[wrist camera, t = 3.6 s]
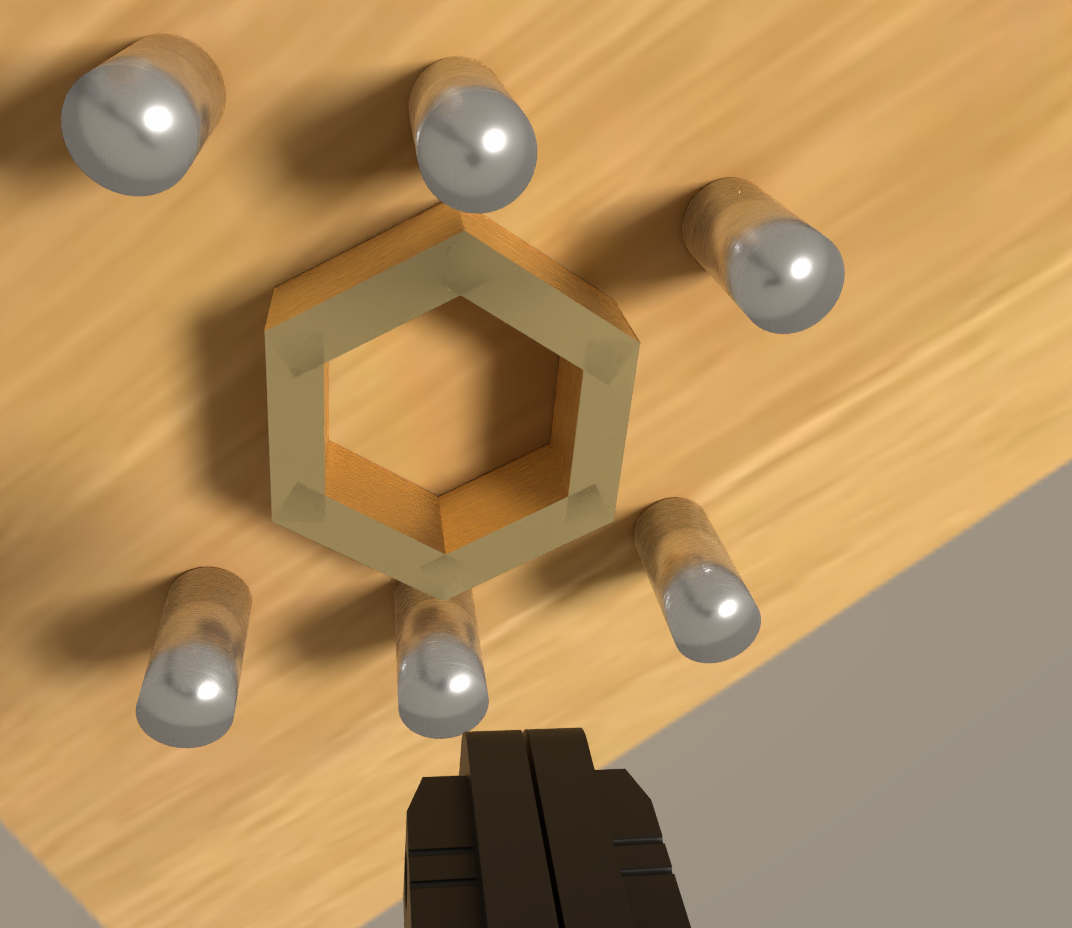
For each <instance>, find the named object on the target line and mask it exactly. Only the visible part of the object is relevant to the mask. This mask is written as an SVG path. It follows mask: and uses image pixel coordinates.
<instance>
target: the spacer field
mask: <svg viewBox="0 0 1072 928" xmlns="http://www.w3.org/2000/svg"><path fill="white" fill-rule="evenodd" d="M225 100H226V93H225V86H224V82H223V79H222V76H221V73H220V71H219V69H218V67H217V66H216V64H215V63H214V61H213V60H212V59H211V57H210V56H209V55H208V54H207V53H206V52H205V51H204V50H203V49H202V48H200V47H199V46H198V45H196V44H195V43H193V42H191V41H189V40H187V39H185V38H182V37H179V36H176V35H170V34H156V35H150V36H147V37H144V38H142V39H140V40H138V41H137V42H135V43H133V44H132V45H130V46H129V47H127V48H125V49H124V50H122V51H121V52H119V53H118V54H116V55H114V56H113V57H111V58H110V59H108V60H107V61H105V62H103V63H102V64H100V65H99V66H97V67H96V68H94V69H92V70H91V71H89V72H88V73H86V74H85V75H83V76H82V77H81V78H79V79H78V80H77V81H76V82H75V83H74V85H73V86H72V87H71V88H70V90H69V92H68V93H67V95H66V98H65V100H64V103H63V107H62V112H61V129H62V134H63V138H64V141H65V144H66V147H67V149H68V151H69V153H70V155H71V157H72V158H73V160H74V161H75V163H76V164H77V165H78V166H79V168H80V169H81V170H82V171H83V172H84V173H85V174H86V175H87V176H88V177H89V178H91V179H92V180H93V181H95V182H96V183H98V184H99V185H101V186H102V187H104V188H107V189H109V190H111V191H114V192H116V193H120V194H124V195H129V196H148V195H154V194H157V193H160V192H163V191H165V190H167V189H169V188H170V187H172V186H174V185H175V184H176V183H177V182H178V181H180V180H181V178H182V177H183V176H184V175H185V174H186V172H187V170H188V169H189V167H190V166H191V164H192V163H193V161H194V160H195V158H196V157H197V155H198V154H199V152H200V150H201V149H202V147H203V146H204V144H205V143H206V141H207V140H208V138H209V137H210V135H211V133H212V132H213V130H214V129H215V127H216V126H217V124H218V123H219V121H220V119H221V117H222V115H223V111H224V108H225ZM408 109H409V119H410V124H411V129H412V134H413V139H414V144H415V149H416V154H417V160H418V165H419V169H420V172H421V175H422V177H423V179H424V181H425V183H426V185H427V186H428V188H429V189H430V191H431V192H432V193H433V194H434V195H435V196H436V197H437V198H438V199H439V200H440V201H442V202H443V203H444V204H446V205H448V206H449V207H451V208H453V209H456V210H458V211H462V212H466V213H474V214H475V213H488V212H492V211H496V210H498V209H501V208H503V207H505V206H507V205H508V204H510V203H511V202H513V201H514V200H515V199H516V198H517V197H518V196H519V195H520V194H521V193H522V192H523V191H524V190H525V188H526V187H527V185H528V184H529V182H530V180H531V178H532V176H533V173H534V170H535V166H536V161H537V142H536V138H535V133H534V131H533V128H532V126H531V124H530V122H529V120H528V118H527V117H526V116H525V114H524V113H523V111H522V110H521V109H520V107H519V106H518V104H517V103H516V102H515V100H514V99H513V98H512V96H511V95H510V93H509V92H508V91H507V89H506V88H505V87H504V85H503V84H502V83H501V81H500V80H499V78H498V77H497V76H496V75H495V73H494V72H493V71H492V70H491V69H489V68H488V67H487V66H486V65H484V64H482V63H481V62H479V61H476V60H474V59H470V58H466V57H450V58H445V59H442V60H439V61H437V62H435V63H433V64H432V65H430V66H429V67H428V68H426V69H425V70H424V71H423V72H422V73H421V74H420V76H419V77H418V79H417V80H416V82H415V84H414V86H413V88H412V91H411V93H410V98H409V106H408ZM682 233H683V239H684V242H685V245H686V247H687V249H688V250H689V252H690V253H691V255H692V256H693V257H694V258H695V259H696V260H697V261H698V262H699V263H700V264H701V266H702V267H703V268H704V269H705V270H706V271H707V272H708V273H709V274H710V275H711V277H712V278H713V279H714V280H715V281H716V282H717V283H718V284H719V285H720V286H721V288H722V289H723V290H724V291H725V292H726V293H727V294H728V295H729V296H730V297H731V299H732V300H733V301H734V302H735V303H736V304H737V305H738V306H739V307H740V308H741V310H742V311H743V312H744V313H745V314H746V315H747V316H748V317H749V318H750V319H751V321H752V322H753V323H754V324H756V325H757V326H758V327H760V328H762V329H763V330H766V331H768V332H772V333H777V334H790V333H795V332H799V331H802V330H805V329H807V328H809V327H811V326H813V325H814V324H816V323H817V322H819V321H820V320H821V319H822V318H824V317H825V316H826V315H827V314H828V313H829V311H830V310H831V309H832V308H833V306H834V305H835V303H836V301H837V300H838V298H839V296H840V293H841V291H842V287H843V283H844V273H845V272H844V263H843V259H842V257H841V254H840V252H839V250H838V249H837V247H836V246H835V245H834V244H833V243H832V242H831V241H830V240H829V239H828V238H826V237H825V236H824V235H822V234H821V233H820V232H818V231H817V230H816V229H814V228H813V227H812V226H810V225H809V224H808V223H806V222H805V221H804V220H802V219H801V218H800V217H798V216H797V215H795V214H794V213H793V212H791V211H790V210H789V209H787V208H786V207H785V206H783V205H782V204H781V203H779V202H778V201H777V200H775V199H774V198H773V197H771V196H770V195H768V194H767V193H766V192H764V191H763V190H762V189H760V188H759V187H758V186H756V185H755V184H753V183H752V182H750V181H748V180H745V179H741V178H723V179H720V180H716V181H714V182H712V183H710V184H708V185H706V186H705V187H704V188H702V189H701V190H700V191H699V192H698V193H697V194H696V195H695V196H694V197H693V199H692V200H691V202H690V203H689V205H688V207H687V209H686V212H685V214H684V218H683V225H682ZM633 541H634V545H635V547H636V550H637V552H638V555H639V557H640V559H641V562H642V564H643V567H644V569H645V572H646V574H647V576H648V579H649V581H650V584H651V586H652V588H653V591H654V593H655V596H656V598H657V600H658V603H659V605H660V608H661V610H662V613H663V615H664V617H665V620H666V622H667V625H668V627H669V629H670V632H671V634H672V637H673V639H674V642H675V644H676V646H677V648H678V650H679V651H680V652H681V653H682V654H683V655H684V656H685V657H687V658H689V659H691V660H693V661H696V662H700V663H717V662H722V661H725V660H728V659H731V658H733V657H735V656H737V655H738V654H740V653H742V652H743V651H744V650H745V649H747V648H748V647H749V646H750V645H751V643H752V642H753V641H754V639H755V638H756V636H757V634H758V632H759V629H760V624H761V616H760V612H759V609H758V607H757V605H756V604H755V602H754V600H753V598H752V596H751V595H750V593H749V591H748V589H747V587H746V585H745V584H744V582H743V580H742V578H741V576H740V575H739V573H738V571H737V569H736V567H735V565H734V564H733V562H732V560H731V558H730V556H729V555H728V553H727V551H726V549H725V547H724V546H723V544H722V542H721V540H720V538H719V536H718V535H717V533H716V531H715V529H714V527H713V526H712V524H711V522H710V520H709V518H708V516H707V515H706V513H705V511H704V510H703V508H702V507H701V506H699V505H698V504H697V503H695V502H693V501H691V500H688V499H684V498H669V499H665V500H661V501H659V502H657V503H655V504H653V505H651V506H650V507H648V508H647V509H646V510H645V511H644V512H643V513H642V514H641V515H640V517H639V518H638V520H637V522H636V524H635V526H634V530H633ZM251 607H252V596H251V593H250V590H249V588H248V587H247V585H246V584H245V583H244V581H243V580H242V579H240V578H239V577H238V576H236V575H235V574H233V573H231V572H229V571H227V570H224V569H220V568H214V567H202V568H196V569H193V570H190V571H187V572H185V573H184V574H182V575H181V576H179V577H178V578H177V579H176V580H175V581H174V582H173V584H172V585H171V587H170V589H169V592H168V596H167V599H166V603H165V606H164V610H163V613H162V617H161V620H160V624H159V627H158V631H157V635H156V638H155V642H154V645H153V649H152V652H151V656H150V659H149V663H148V666H147V670H146V673H145V677H144V680H143V684H142V688H141V691H140V695H139V698H138V702H137V705H136V717H137V721H138V723H139V725H140V727H141V728H142V729H143V731H144V732H145V733H146V734H147V735H148V736H150V737H151V738H153V739H154V740H156V741H158V742H160V743H162V744H165V745H168V746H172V747H178V748H195V747H200V746H204V745H207V744H210V743H212V742H214V741H216V740H218V739H219V738H221V737H222V736H223V735H224V734H225V733H226V732H227V731H228V730H229V728H230V726H231V725H232V722H233V718H234V713H235V706H236V700H237V694H238V688H239V681H240V675H241V669H242V663H243V657H244V650H245V644H246V638H247V632H248V625H249V619H250V613H251ZM394 609H395V633H396V658H397V683H398V707H399V714H400V717H401V720H402V721H403V723H404V724H405V725H406V726H407V727H408V728H409V729H410V730H411V731H413V732H415V733H417V734H419V735H421V736H424V737H428V738H435V739H444V738H451V737H456V736H459V735H461V734H463V732H468V731H470V730H471V729H473V728H474V727H475V726H476V725H478V724H479V723H480V721H481V720H482V719H483V717H484V716H485V714H486V712H487V709H488V704H489V699H488V692H487V686H486V679H485V673H484V666H483V659H482V653H481V646H480V640H479V633H478V627H477V620H476V614H475V607H474V601H473V594H472V589H471V588H470V589H468V590H466V591H464V592H462V593H460V594H458V595H456V596H453V597H451V598H449V599H447V600H445V601H444V602H442V601H441V600H439V599H437V598H435V597H433V596H430V595H428V594H426V593H424V592H422V591H420V590H418V589H415V588H413V587H411V586H409V585H407V584H405V583H403V582H401V581H400V583H399V584H398V586H397V588H396V591H395V594H394Z"/></svg>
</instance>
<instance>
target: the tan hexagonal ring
mask: <svg viewBox="0 0 1072 928" xmlns="http://www.w3.org/2000/svg"><path fill="white" fill-rule="evenodd" d="M460 295H461V296H463V297H464V298H466V299H468V300H469V301H471V302H472V303H474V304H476V305H477V306H479V307H481V308H482V309H484V310H486V311H487V312H489V313H491V314H492V315H494V316H495V317H497V318H499V319H500V320H502V321H504V322H505V323H507V324H509V325H510V326H512V327H513V328H515V329H517V330H518V331H520V332H522V333H523V334H525V335H527V336H528V337H530V338H532V339H533V340H535V341H536V342H538V343H540V344H541V345H543V346H545V347H546V348H548V349H550V350H551V351H553V352H555V353H556V354H558V355H559V356H560V358H559V367H558V376H557V386H556V395H555V404H554V413H553V422H552V431H551V441H550V444H548V445H546V446H544V447H542V448H540V449H537V450H535V451H533V452H531V453H529V454H527V455H525V456H523V457H521V458H519V459H517V460H515V461H512V462H510V463H508V464H506V465H504V466H502V467H500V468H498V469H496V470H494V471H492V472H490V473H487V474H485V475H483V476H481V477H479V478H477V479H475V480H473V481H471V482H469V483H467V484H465V485H463V486H460V487H458V488H456V489H454V490H452V491H450V492H448V493H446V494H444V495H442V496H440V497H438V496H436V495H434V494H432V493H430V492H428V491H426V490H424V489H422V488H420V487H418V486H416V485H414V484H412V483H411V482H409V481H407V480H405V479H403V478H401V477H399V476H397V475H395V474H393V473H391V472H389V471H387V470H385V469H383V468H381V467H379V466H377V465H375V464H373V463H372V462H370V461H368V460H366V459H364V458H362V457H360V456H358V455H356V454H354V453H352V452H350V451H348V450H346V449H344V448H342V447H340V446H338V445H336V444H334V443H333V442H331V441H329V406H328V361H330V360H332V359H334V358H336V357H338V356H340V355H342V354H344V353H346V352H348V351H350V350H352V349H354V348H356V347H358V346H360V345H362V344H364V343H366V342H368V341H370V340H372V339H374V338H376V337H378V336H380V335H382V334H384V333H386V332H388V331H390V330H392V329H394V328H396V327H398V326H400V325H402V324H404V323H406V322H408V321H410V320H412V319H414V318H416V317H418V316H420V315H422V314H424V313H426V312H428V311H430V310H432V309H434V308H436V307H438V306H440V305H442V304H444V303H446V302H448V301H450V300H452V299H454V298H456V297H458V296H460ZM264 333H265V355H266V380H267V406H268V432H269V457H270V483H271V509H272V522H274V523H276V524H278V525H281V526H283V527H285V528H287V529H289V530H291V531H293V532H296V533H298V534H300V535H302V536H304V537H306V538H308V539H311V540H313V541H315V542H317V543H319V544H321V545H323V546H326V547H328V548H330V549H332V550H334V551H336V552H338V553H341V554H343V555H345V556H347V557H349V558H351V559H353V560H356V561H358V562H360V563H362V564H364V565H366V566H368V567H371V568H373V569H375V570H377V571H379V572H381V573H383V574H386V575H388V576H390V577H392V578H394V579H396V580H398V581H401V582H403V583H405V584H407V585H409V586H411V587H413V588H415V589H418V590H420V591H422V592H424V593H426V594H428V595H430V596H433V597H435V598H437V599H439V600H441V601H442V602H444V601H445V600H447V599H449V598H451V597H453V596H456V595H458V594H460V593H462V592H464V591H466V590H468V589H470V588H473V587H475V586H477V585H479V584H481V583H483V582H485V581H487V580H490V579H492V578H494V577H496V576H498V575H500V574H502V573H504V572H507V571H509V570H511V569H513V568H515V567H517V566H519V565H522V564H524V563H526V562H528V561H530V560H532V559H534V558H536V557H539V556H541V555H543V554H545V553H547V552H549V551H551V550H553V549H556V548H558V547H560V546H562V545H564V544H566V543H568V542H570V541H573V540H575V539H577V538H579V537H581V536H583V535H585V534H588V533H590V532H592V531H594V530H596V529H598V528H600V527H602V526H605V525H607V524H609V523H611V522H613V521H614V514H615V508H616V501H617V494H618V487H619V481H620V474H621V467H622V461H623V454H624V447H625V440H626V434H627V427H628V420H629V413H630V407H631V400H632V393H633V386H634V380H635V373H636V366H637V359H638V353H639V346H640V341H639V340H638V338H637V336H636V335H635V333H634V331H633V330H632V328H631V327H630V325H629V323H628V322H627V320H626V318H625V317H624V315H623V314H622V312H621V310H620V309H619V307H618V305H617V304H616V302H615V301H614V300H612V299H611V298H609V297H608V296H606V295H605V294H603V293H602V292H600V291H599V290H597V289H596V288H594V287H593V286H591V285H589V284H588V283H586V282H585V281H583V280H582V279H580V278H579V277H577V276H576V275H574V274H573V273H571V272H570V271H568V270H566V269H565V268H563V267H562V266H560V265H559V264H557V263H556V262H554V261H553V260H551V259H550V258H548V257H547V256H545V255H543V254H542V253H540V252H539V251H537V250H536V249H534V248H533V247H531V246H530V245H528V244H527V243H525V242H523V241H522V240H520V239H519V238H517V237H516V236H514V235H513V234H511V233H510V232H508V231H507V230H505V229H504V228H502V227H500V226H499V225H497V224H496V223H494V222H493V221H491V220H490V219H488V218H487V217H485V216H484V215H482V214H481V213H475V214H474V213H466V212H462V211H458V210H456V209H453V208H451V207H449V206H448V205H446V204H444V203H443V202H442V203H440V204H438V205H436V206H434V207H432V208H430V209H428V210H426V211H425V212H423V213H421V214H419V215H417V216H415V217H413V218H411V219H409V220H407V221H405V222H403V223H401V224H399V225H397V226H395V227H393V228H391V229H389V230H387V231H385V232H383V233H381V234H379V235H377V236H375V237H373V238H372V239H370V240H368V241H366V242H364V243H362V244H360V245H358V246H356V247H354V248H352V249H350V250H348V251H346V252H344V253H342V254H340V255H338V256H336V257H334V258H332V259H330V260H328V261H326V262H324V263H322V264H320V265H318V266H317V267H315V268H313V269H311V270H309V271H307V272H305V273H303V274H301V275H299V276H297V277H295V278H293V279H291V280H289V281H287V282H285V283H283V284H281V285H279V286H277V287H275V288H274V291H273V295H272V299H271V304H270V308H269V312H268V317H267V321H266V325H265V329H264Z"/></svg>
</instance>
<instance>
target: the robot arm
mask: <svg viewBox="0 0 1072 928" xmlns="http://www.w3.org/2000/svg"><path fill="white" fill-rule="evenodd" d="M403 901H404V928H691V926H690V923H689V920H688V916H687V913H686V910H685V907H684V904H683V900H682V897H681V894H680V891H679V888H678V884H677V881H676V878H675V875H674V874H672V865H671V862H670V859H669V856H668V852H667V849H666V846H665V844H663V841H662V833H661V830H660V827H659V823H658V820H657V817H656V814H655V811H654V808H653V804H652V801H651V799H650V798H649V797H648V795H647V794H646V793H645V792H644V791H643V790H642V788H641V787H640V786H639V785H638V784H637V783H636V781H635V780H634V779H633V778H632V776H631V775H630V774H629V773H628V772H627V771H626V769H607V770H595V769H594V766H593V762H592V758H591V754H590V750H589V746H588V742H587V738H586V735H585V733H584V731H583V729H582V728H556V729H526V730H524V731H523V733H522V731H521V730H504V731H473V732H463V735H462V743H461V756H460V770H459V776H439V777H423V778H422V780H421V782H420V784H419V786H418V789H417V791H416V793H415V795H414V797H413V799H412V801H411V803H410V806H409V808H408V810H407V819H406V844H405V868H404V892H403Z"/></svg>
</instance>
